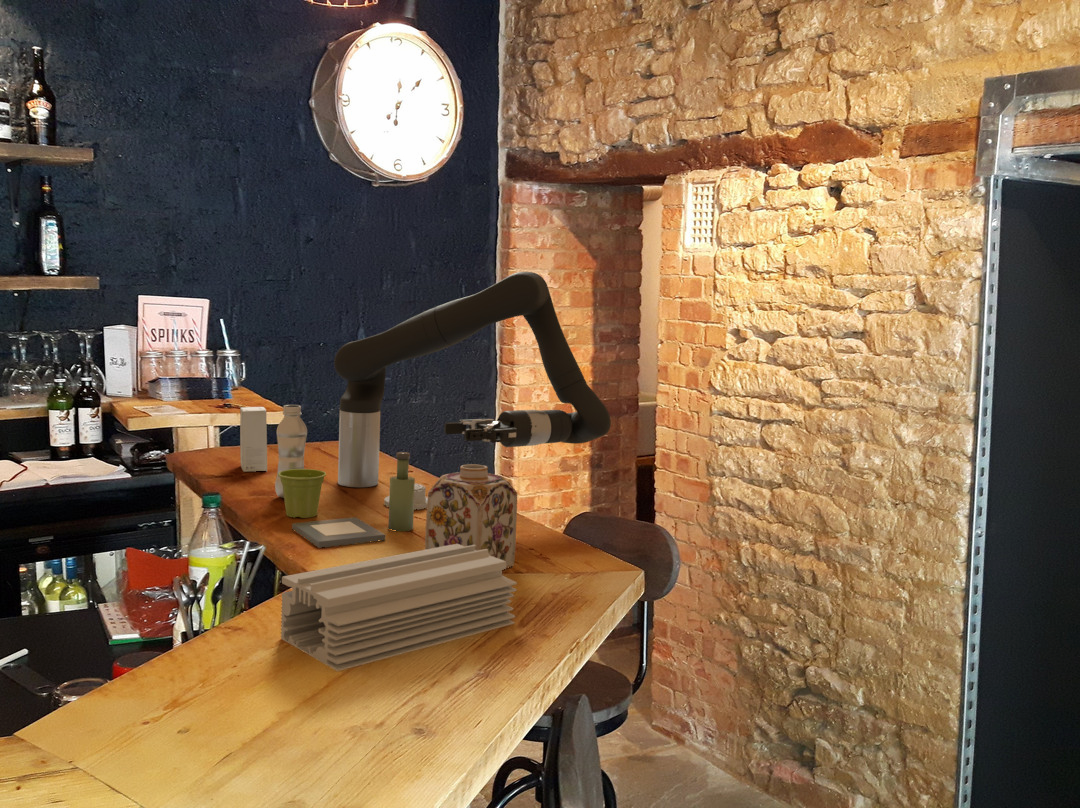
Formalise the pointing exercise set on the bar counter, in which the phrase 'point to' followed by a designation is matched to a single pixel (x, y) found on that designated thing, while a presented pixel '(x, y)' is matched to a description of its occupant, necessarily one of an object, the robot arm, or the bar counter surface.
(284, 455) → the plastic bottle
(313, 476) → the plant pot
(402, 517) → the bitters bottle
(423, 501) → the mechanical component
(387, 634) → the aluminum extrusion profile
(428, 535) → the decorative jar
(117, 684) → the bar counter surface
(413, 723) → the bar counter surface
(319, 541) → the board
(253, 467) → the skincare box
